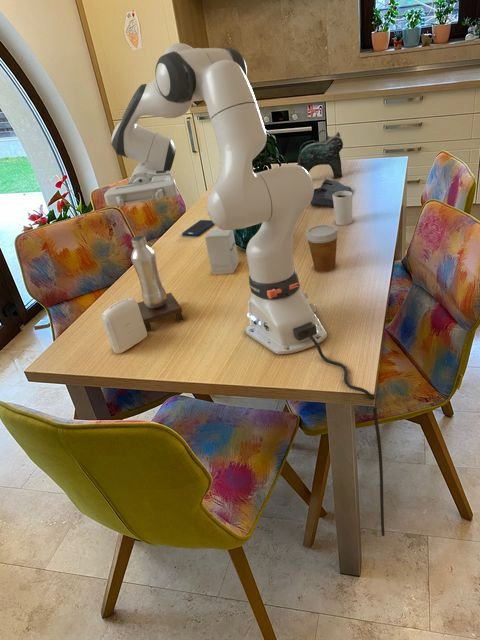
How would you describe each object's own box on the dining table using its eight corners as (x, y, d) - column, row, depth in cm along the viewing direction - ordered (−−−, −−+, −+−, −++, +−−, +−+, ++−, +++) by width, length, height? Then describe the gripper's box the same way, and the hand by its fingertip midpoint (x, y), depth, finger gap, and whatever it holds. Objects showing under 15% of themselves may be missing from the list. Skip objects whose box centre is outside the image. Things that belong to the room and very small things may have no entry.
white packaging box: (234, 273, 176) (227, 235, 169) (211, 274, 178) (203, 237, 171) (239, 263, 182) (233, 226, 175) (217, 264, 184) (210, 227, 177)
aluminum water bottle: (173, 301, 157) (155, 234, 146) (157, 313, 153) (137, 244, 142) (157, 297, 160) (138, 231, 150) (140, 309, 156) (120, 241, 145)
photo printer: (119, 355, 145) (105, 314, 138) (110, 351, 147) (95, 310, 140) (150, 336, 151) (138, 295, 144) (140, 332, 153) (128, 292, 146)
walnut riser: (184, 320, 156) (181, 307, 153) (146, 332, 153) (142, 320, 151) (173, 304, 164) (170, 292, 162) (137, 316, 161) (133, 303, 159)
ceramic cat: (343, 173, 245) (340, 125, 234) (346, 177, 240) (343, 128, 229) (298, 180, 245) (293, 133, 235) (300, 185, 240) (295, 136, 229)
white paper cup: (333, 226, 197) (331, 198, 191) (335, 219, 202) (333, 191, 197) (353, 224, 195) (351, 196, 190) (353, 217, 201) (352, 190, 195)
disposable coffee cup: (346, 262, 171) (343, 225, 164) (331, 276, 165) (328, 238, 158) (318, 259, 176) (315, 222, 169) (303, 272, 170) (299, 235, 163)
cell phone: (181, 235, 210) (181, 233, 209) (201, 221, 220) (200, 219, 219) (197, 236, 207) (197, 234, 206) (217, 222, 216) (216, 220, 216)
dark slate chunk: (304, 209, 214) (302, 197, 212) (315, 190, 232) (314, 178, 229) (344, 208, 210) (343, 195, 207) (352, 188, 227) (352, 176, 224)
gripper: (106, 181, 163) (97, 195, 151) (175, 169, 162) (172, 183, 150) (112, 202, 166) (103, 218, 154) (180, 191, 165) (177, 206, 154)
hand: (138, 201), depth 152 cm, fingers open, 8 cm apart
